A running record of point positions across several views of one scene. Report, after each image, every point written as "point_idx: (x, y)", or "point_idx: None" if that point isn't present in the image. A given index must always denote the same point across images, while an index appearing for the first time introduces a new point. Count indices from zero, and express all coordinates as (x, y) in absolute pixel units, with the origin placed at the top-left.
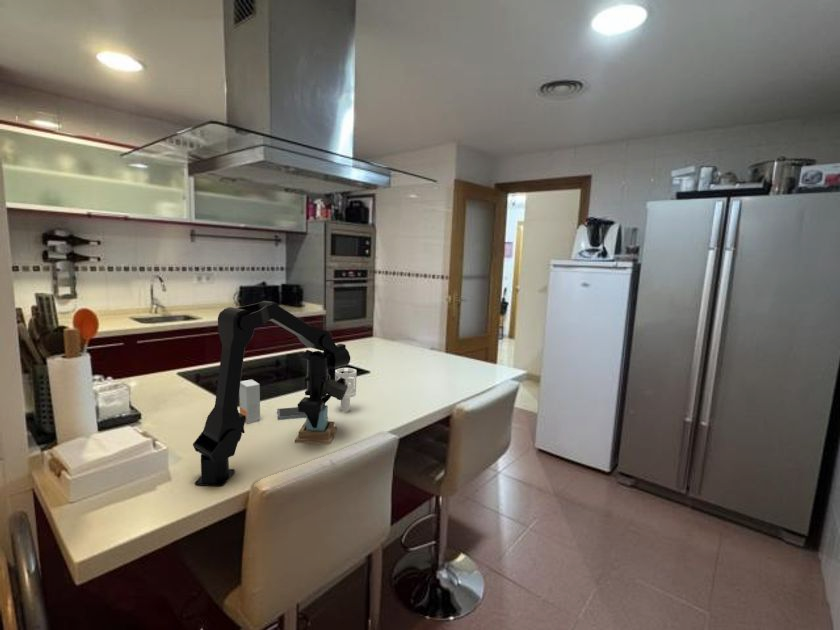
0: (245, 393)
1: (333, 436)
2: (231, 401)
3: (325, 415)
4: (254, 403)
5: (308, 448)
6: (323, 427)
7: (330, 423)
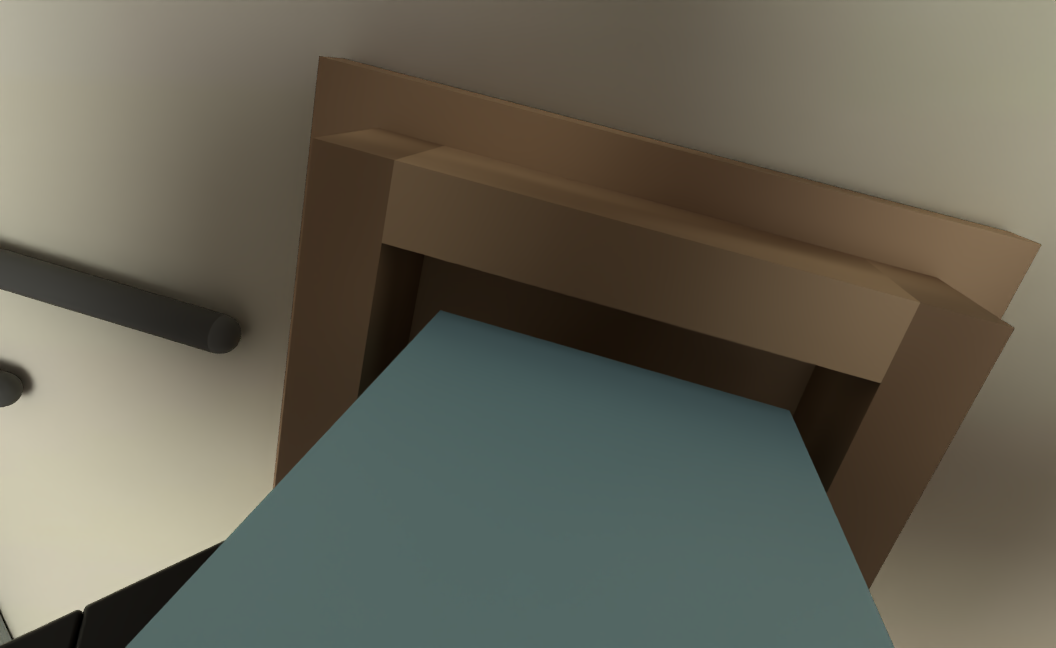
0: None
1: (724, 159)
2: None
3: (640, 597)
4: None
5: (1029, 580)
6: (806, 465)
7: (420, 244)
